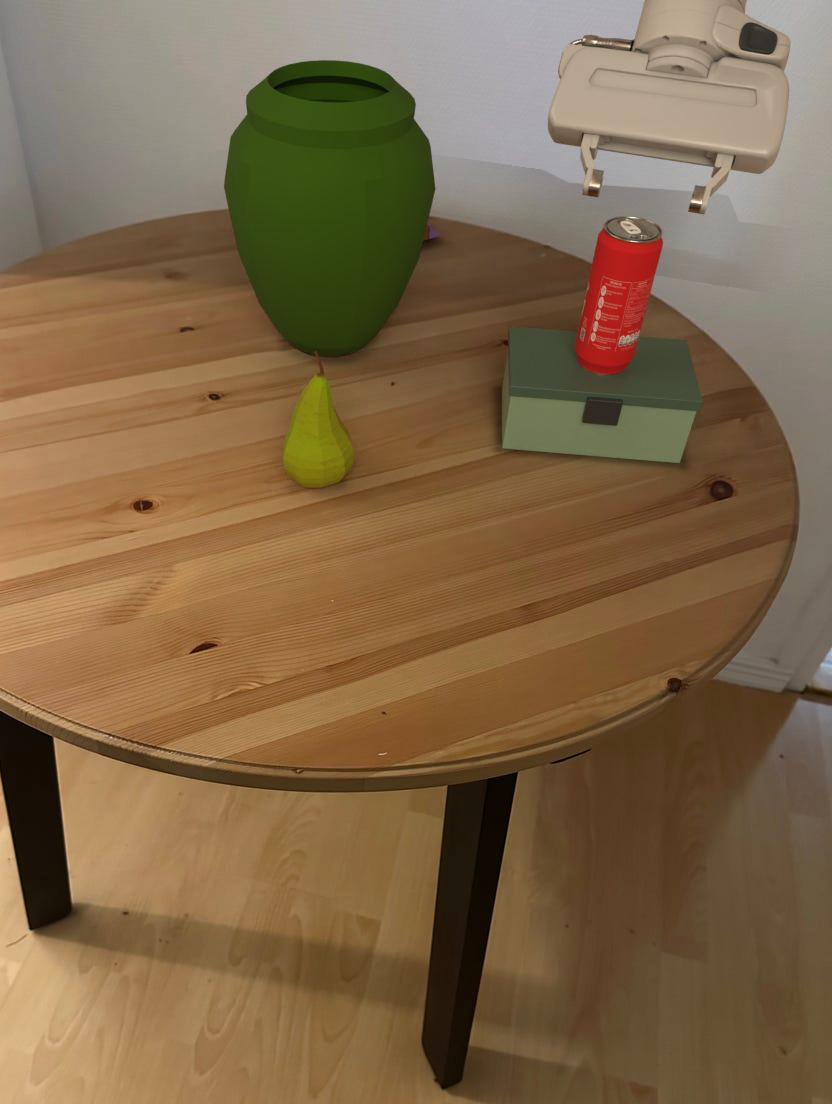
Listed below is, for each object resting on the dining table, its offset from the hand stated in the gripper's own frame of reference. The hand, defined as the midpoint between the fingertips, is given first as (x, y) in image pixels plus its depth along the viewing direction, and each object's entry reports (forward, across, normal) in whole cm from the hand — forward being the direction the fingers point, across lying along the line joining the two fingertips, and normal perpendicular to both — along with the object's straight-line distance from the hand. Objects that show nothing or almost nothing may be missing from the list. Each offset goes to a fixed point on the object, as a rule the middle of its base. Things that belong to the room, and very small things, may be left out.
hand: (643, 202), depth 88 cm
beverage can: (+15, 0, 0) cm, 15 cm away
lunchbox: (+19, 0, +4) cm, 20 cm away
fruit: (+32, -21, -8) cm, 38 cm away
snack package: (-4, -29, +28) cm, 40 cm away
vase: (+15, -28, +8) cm, 33 cm away
